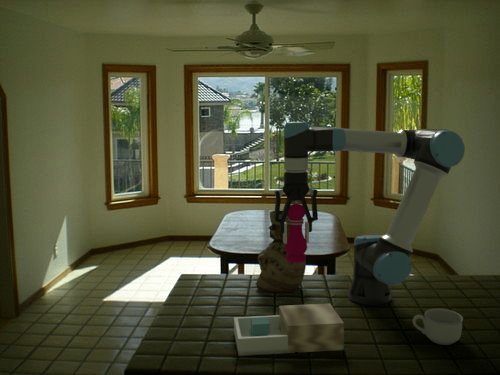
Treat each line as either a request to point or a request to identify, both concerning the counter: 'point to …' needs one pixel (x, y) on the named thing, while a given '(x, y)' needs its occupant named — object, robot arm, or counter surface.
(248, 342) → the tray
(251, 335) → the tile
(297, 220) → the pepper mill
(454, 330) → the teacup
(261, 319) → the tile
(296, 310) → the light wood block
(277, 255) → the ceramic vessel
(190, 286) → the counter surface
